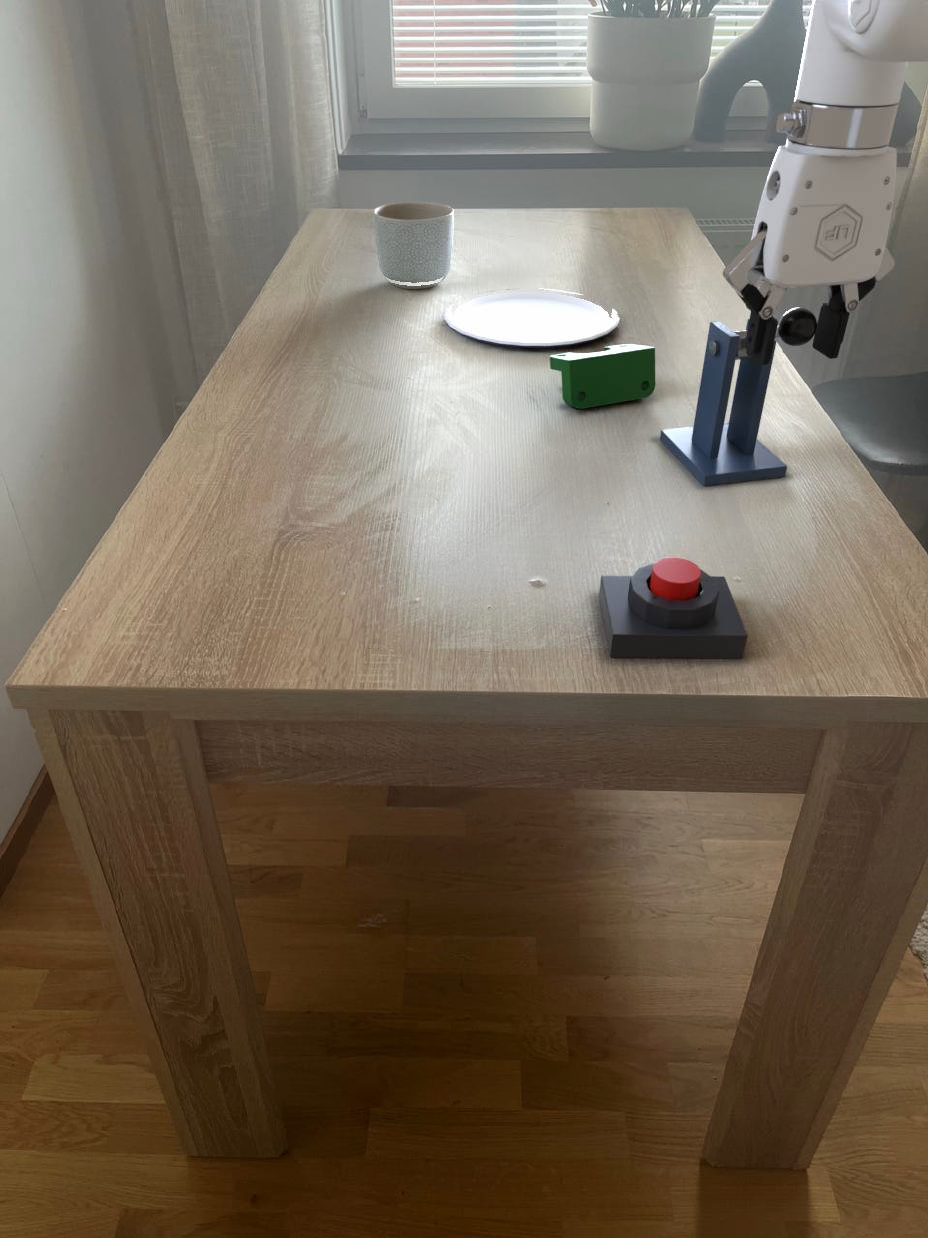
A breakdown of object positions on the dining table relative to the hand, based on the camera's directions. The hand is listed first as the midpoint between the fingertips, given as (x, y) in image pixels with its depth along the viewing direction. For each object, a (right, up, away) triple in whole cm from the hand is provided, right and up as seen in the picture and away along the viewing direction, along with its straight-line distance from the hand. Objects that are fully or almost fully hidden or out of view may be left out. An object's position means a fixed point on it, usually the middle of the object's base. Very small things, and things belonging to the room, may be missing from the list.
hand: (791, 354), depth 81 cm
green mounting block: (-13, +3, +29) cm, 32 cm away
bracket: (-2, -6, +15) cm, 17 cm away
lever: (-1, +1, +4) cm, 4 cm away
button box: (-13, -24, -9) cm, 29 cm away
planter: (-37, +30, +66) cm, 81 cm away
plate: (-19, +19, +50) cm, 57 cm away
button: (-13, -21, -11) cm, 27 cm away
